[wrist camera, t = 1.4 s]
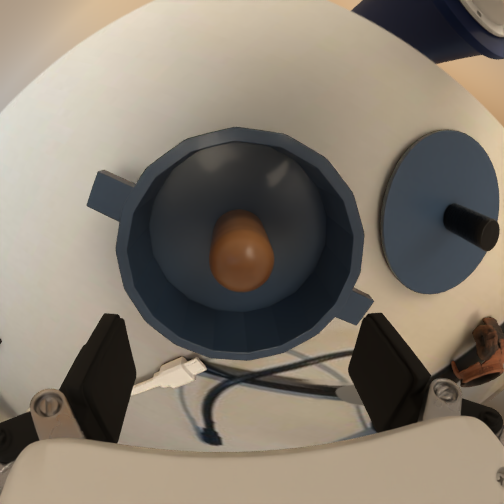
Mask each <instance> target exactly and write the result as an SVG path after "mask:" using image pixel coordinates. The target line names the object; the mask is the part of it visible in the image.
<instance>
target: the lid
mask: <svg viewBox="0 0 504 504" xmlns="http://www.w3.org/2000/svg"><path fill="white" fill-rule="evenodd" d="M498 213H499V188H498V182H497V177H496V173H495V170H494V167H493V165H492V162H491V160H490V158H489V156H488V155H487V153H486V152H485V150H484V149H483V148H482V147H481V145H480V144H479V143H478V142H477V141H475V140H474V139H473V138H472V137H470V136H468V135H467V134H465V133H462V132H459V131H454V130H439V131H435V132H431V133H429V134H427V135H425V136H423V137H421V138H420V139H419V140H417V141H416V142H415V143H414V144H413V145H412V146H411V147H410V148H408V149H407V151H406V152H405V153H404V155H403V156H402V157H401V159H400V160H399V162H398V164H397V165H396V167H395V169H394V171H393V173H392V175H391V177H390V179H389V182H388V185H387V188H386V191H385V195H384V200H383V204H382V212H381V228H380V229H381V241H382V246H383V252H384V255H385V258H386V261H387V263H388V265H389V267H390V269H391V271H392V272H393V274H394V275H395V277H396V278H397V279H398V280H399V281H400V282H401V283H402V284H403V285H405V286H406V287H407V288H409V289H411V290H413V291H415V292H418V293H422V294H437V293H441V292H445V291H447V290H449V289H452V288H453V287H455V286H457V285H458V284H460V283H461V282H462V281H464V280H465V279H466V278H467V277H468V276H469V275H470V274H471V273H472V272H473V271H474V270H475V269H476V267H477V266H478V265H479V263H480V262H481V261H482V259H483V257H484V256H485V254H486V252H487V251H490V250H491V249H492V248H493V247H494V246H495V245H496V243H497V240H498V237H499V224H498V222H497V220H498Z"/></svg>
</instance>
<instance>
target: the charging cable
mask: <svg viewBox="0 0 504 504" xmlns="http://www.w3.org/2000/svg"><path fill="white" fill-rule="evenodd" d="M205 370H207V369H206V367H205V365H204V364H203V363H202V362H201V361H200V359H199V358H195V359H192V360H190V361H187V360H186V359H185V358H184V357H180V358H178V359H175V360H173V361H171V362H168V363H166V364H164V365H161V367H160V371H159V372H156V373H154V377H153V378H151V379H149V380H146V381H144V382H141V383H139V384H136V385H134V386H133V389H132V392H131V396H132V395H135V394H138V393H141V392H144V391H146V390H149V389H152V388H154V387H157V386H161V387H162V388H165V387H168V386H171V387H172V388H177V387H179V386H182V385H184V384H187V383H189V382H192V381H195V380H196V374H198V373H200V372H203V371H205ZM29 411H30V408H28V410H27V412H29ZM27 412H26V413H27Z"/></svg>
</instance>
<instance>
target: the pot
mask: <svg viewBox="0 0 504 504" xmlns="http://www.w3.org/2000/svg"><path fill="white" fill-rule="evenodd" d="M87 206H88V207H90V208H92V209H94V210H96V211H98V212H100V213H102V214H104V215H106V216H108V217H110V218H112V219H115V220H117V221H119V222H120V223H119V229H118V236H117V242H116V255H117V260H118V264H119V269H120V273H121V277H122V282H123V286H124V289H125V291H126V292H127V294H128V296H129V297H130V299H131V300H132V302H133V303H134V305H135V307H136V308H137V310H138V311H139V313H140V314H141V316H142V317H143V319H144V320H145V321H146V322H147V323H148V324H149V325H150V326H152V327H153V328H154V329H155V330H157V331H158V332H159V333H161V334H162V335H163V336H164V337H166V338H167V339H168V340H170V341H171V342H172V343H174V344H176V345H177V346H180V347H182V348H185V349H187V350H190V351H193V352H195V353H198V354H201V355H204V356H206V357H209V358H210V357H211V358H216V359H230V360H246V361H247V360H254V359H258V358H263V357H268V356H272V355H277V354H281V353H284V352H286V351H288V350H290V349H292V348H294V347H296V346H298V345H299V344H301V343H303V342H305V341H307V340H308V339H310V338H312V337H314V336H316V335H317V334H318V333H319V332H320V331H321V330H322V329H323V328H324V327H325V326H326V325H327V324H328V323H329V322H330V321H331V320H332V319H333V318H334V317H336V318H339V319H341V320H344V321H346V322H349V323H351V324H354V325H357V324H358V323H359V321H360V320H361V319H362V317H363V316H364V315H365V313H366V312H367V311H368V309H369V308H370V306H371V305H372V304H373V302H374V301H373V299H372V298H371V297H370V296H369V295H368V294H366V293H364V292H362V291H360V290H358V289H356V288H354V286H355V283H356V281H357V279H358V277H359V275H360V272H361V264H362V255H363V245H364V231H363V227H362V223H361V219H360V216H359V212H358V208H357V205H356V201H355V198H354V195H353V192H352V191H351V190H350V188H349V187H348V185H347V184H346V183H345V181H344V180H343V179H342V177H341V176H340V175H339V174H338V172H337V171H336V170H335V168H334V167H333V166H332V165H331V163H330V162H329V161H328V159H326V158H325V157H324V156H322V155H320V154H319V153H317V152H315V151H314V150H312V149H310V148H309V147H307V146H305V145H304V144H302V143H300V142H298V141H297V140H295V139H293V138H291V137H290V136H288V135H286V134H282V133H276V132H270V131H263V130H256V129H249V128H241V127H232V128H227V129H223V130H219V131H215V132H211V133H207V134H203V135H199V136H195V137H191V138H188V139H186V140H184V141H182V142H181V143H179V144H178V145H177V146H175V147H174V148H172V149H171V150H170V151H168V152H167V153H165V154H164V155H163V156H161V157H160V158H159V159H157V160H156V161H155V162H153V163H152V164H151V165H149V166H148V167H147V168H146V169H145V171H144V172H143V174H142V175H141V177H140V178H139V180H138V182H137V183H136V184H134V183H132V182H130V181H128V180H126V179H123V178H121V177H119V176H117V175H115V174H112V173H110V172H108V171H106V170H101V171H98V173H97V175H96V178H95V181H94V184H93V187H92V190H91V193H90V196H89V199H88V203H87ZM237 209H241V210H246V211H249V212H251V213H253V214H255V215H256V216H257V217H258V218H259V219H260V221H261V222H262V224H263V227H264V229H265V232H266V234H267V237H268V239H269V242H270V244H271V247H272V249H273V253H274V266H273V270H272V273H271V275H270V277H269V278H268V280H267V281H266V282H265V283H264V284H263V285H261V286H260V287H259V288H257V289H255V290H252V291H249V292H235V291H231V290H228V289H226V288H225V287H223V286H222V285H220V284H219V283H218V282H217V280H216V279H215V278H214V276H213V274H212V272H211V269H210V265H209V253H210V247H211V241H212V235H213V229H214V226H215V223H216V222H217V220H218V219H219V218H220V217H221V216H222V215H223V214H225V213H227V212H229V211H232V210H237Z"/></svg>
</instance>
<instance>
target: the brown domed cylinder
mask: <svg viewBox="0 0 504 504" xmlns="http://www.w3.org/2000/svg"><path fill="white" fill-rule="evenodd" d="M209 265H210V269H211V272H212V274H213V276H214V278H215V279H216V280H217V282H218V283H219V284H220V285H222V286H223V287H225V288H226V289H228V290H231V291H235V292H249V291H252V290H255V289H257V288H259V287H260V286H261V285H263V284H264V283H265V282H266V281H267V280H268V278H269V277H270V275H271V273H272V270H273V266H274V253H273V249H272V247H271V244H270V242H269V239H268V237H267V234H266V232H265V229H264V227H263V224H262V222H261V221H260V219H259V218H258V217H257V216H256V215H255V214H253V213H251V212H249V211H246V210H241V209H237V210H232V211H229V212H227V213H225V214H223V215H222V216H221V217H220V218H219V219H218V220H217V222H216V223H215V226H214V229H213V235H212V241H211V247H210V253H209Z"/></svg>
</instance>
